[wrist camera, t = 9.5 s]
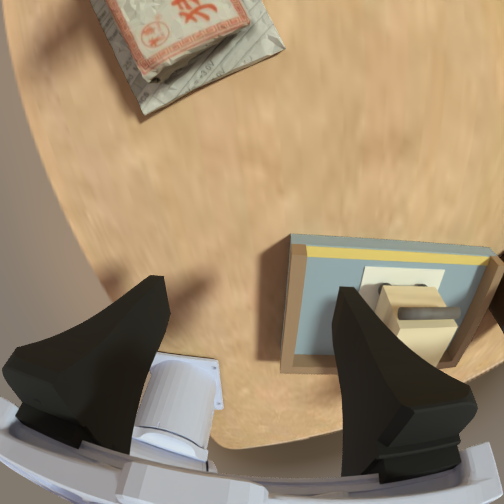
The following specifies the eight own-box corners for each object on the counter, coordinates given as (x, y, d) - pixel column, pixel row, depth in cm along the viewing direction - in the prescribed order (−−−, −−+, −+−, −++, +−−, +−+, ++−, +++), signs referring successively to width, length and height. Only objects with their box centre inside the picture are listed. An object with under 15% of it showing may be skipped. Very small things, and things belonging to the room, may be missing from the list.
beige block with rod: (404, 341, 25) (420, 391, 20) (358, 342, 25) (369, 395, 20) (433, 267, 21) (463, 314, 16) (381, 264, 21) (405, 316, 16)
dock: (446, 346, 27) (455, 366, 24) (280, 348, 28) (279, 373, 26) (489, 247, 21) (506, 265, 18) (290, 233, 22) (291, 254, 20)
